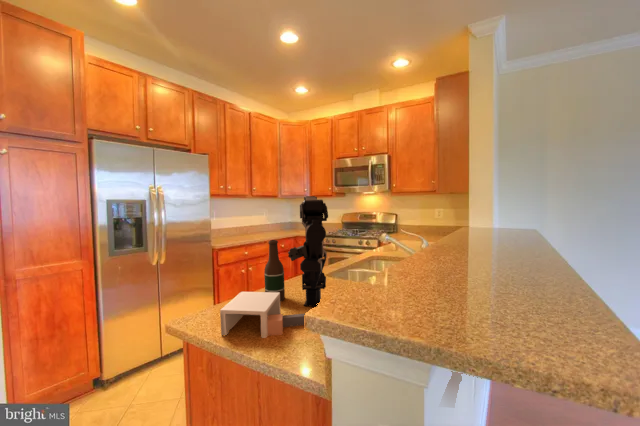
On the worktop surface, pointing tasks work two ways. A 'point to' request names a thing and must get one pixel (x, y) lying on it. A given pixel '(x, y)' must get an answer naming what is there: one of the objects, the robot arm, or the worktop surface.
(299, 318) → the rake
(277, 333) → the cube
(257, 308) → the cubby
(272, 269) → the beer bottle
